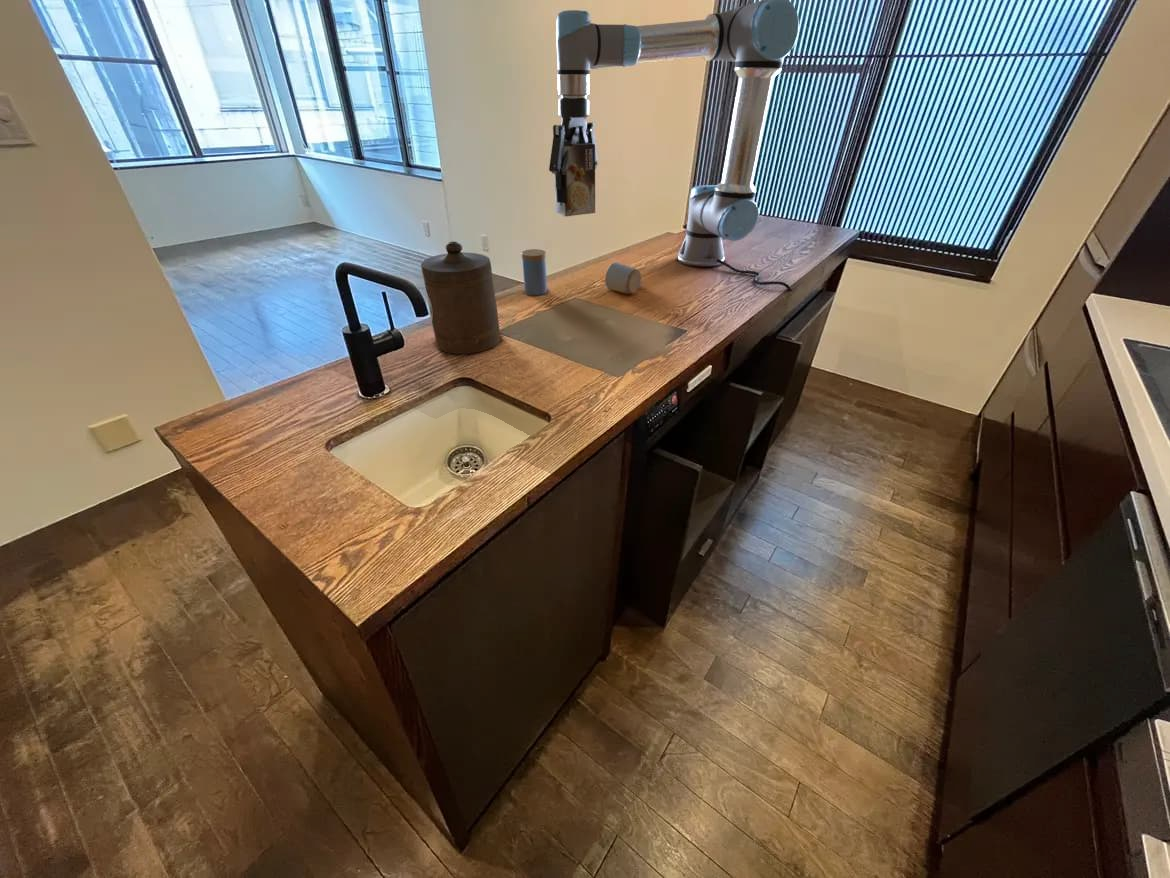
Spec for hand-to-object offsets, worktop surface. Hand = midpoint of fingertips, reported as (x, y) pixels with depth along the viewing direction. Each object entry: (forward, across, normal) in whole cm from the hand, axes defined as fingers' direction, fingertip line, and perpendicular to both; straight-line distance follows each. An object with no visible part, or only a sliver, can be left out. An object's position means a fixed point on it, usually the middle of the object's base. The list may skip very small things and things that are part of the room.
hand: (575, 199), depth 128 cm
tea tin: (+24, +9, -8) cm, 27 cm away
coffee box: (+4, 0, 0) cm, 4 cm away
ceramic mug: (+24, -7, +13) cm, 28 cm away
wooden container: (+24, +44, +1) cm, 50 cm away
